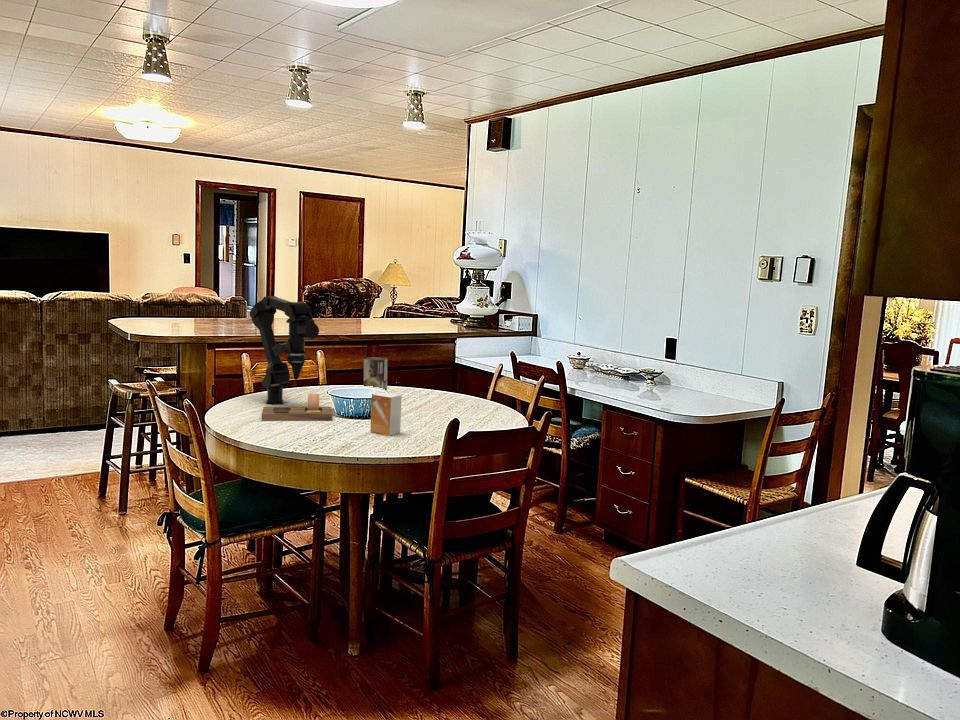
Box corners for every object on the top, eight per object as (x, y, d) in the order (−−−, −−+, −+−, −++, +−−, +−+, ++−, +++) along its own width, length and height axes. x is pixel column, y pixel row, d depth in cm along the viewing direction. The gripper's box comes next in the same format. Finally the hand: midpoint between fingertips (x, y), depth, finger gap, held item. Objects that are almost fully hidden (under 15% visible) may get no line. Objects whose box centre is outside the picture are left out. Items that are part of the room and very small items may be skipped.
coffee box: (387, 395, 314) (388, 358, 311) (383, 398, 307) (385, 359, 305) (366, 394, 314) (367, 356, 312) (362, 396, 308) (363, 358, 306)
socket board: (263, 413, 267) (263, 405, 267) (331, 413, 273) (331, 405, 272) (261, 420, 256) (261, 412, 255) (332, 420, 261) (332, 412, 261)
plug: (307, 415, 268) (307, 393, 267) (318, 415, 269) (319, 393, 268) (307, 417, 264) (307, 395, 263) (318, 417, 265) (319, 395, 264)
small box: (369, 432, 247) (371, 394, 245) (381, 429, 252) (382, 391, 251) (389, 436, 243) (391, 397, 241) (400, 432, 248) (402, 394, 247)
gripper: (275, 332, 281) (274, 373, 283) (272, 338, 263) (272, 381, 265) (305, 333, 284) (304, 373, 286) (305, 339, 266) (304, 381, 268)
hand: (296, 377), depth 276 cm, fingers open, 9 cm apart
